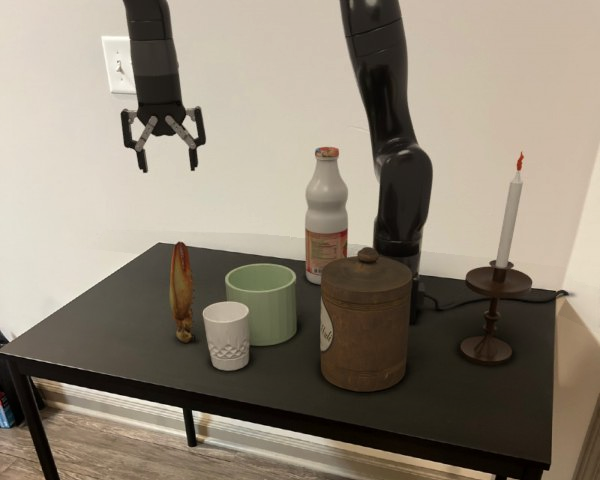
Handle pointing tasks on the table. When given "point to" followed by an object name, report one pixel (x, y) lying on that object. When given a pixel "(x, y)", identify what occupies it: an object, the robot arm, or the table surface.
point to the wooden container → (364, 321)
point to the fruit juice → (325, 215)
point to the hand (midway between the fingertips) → (169, 171)
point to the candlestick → (497, 286)
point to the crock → (265, 301)
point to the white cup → (227, 334)
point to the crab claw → (181, 292)
